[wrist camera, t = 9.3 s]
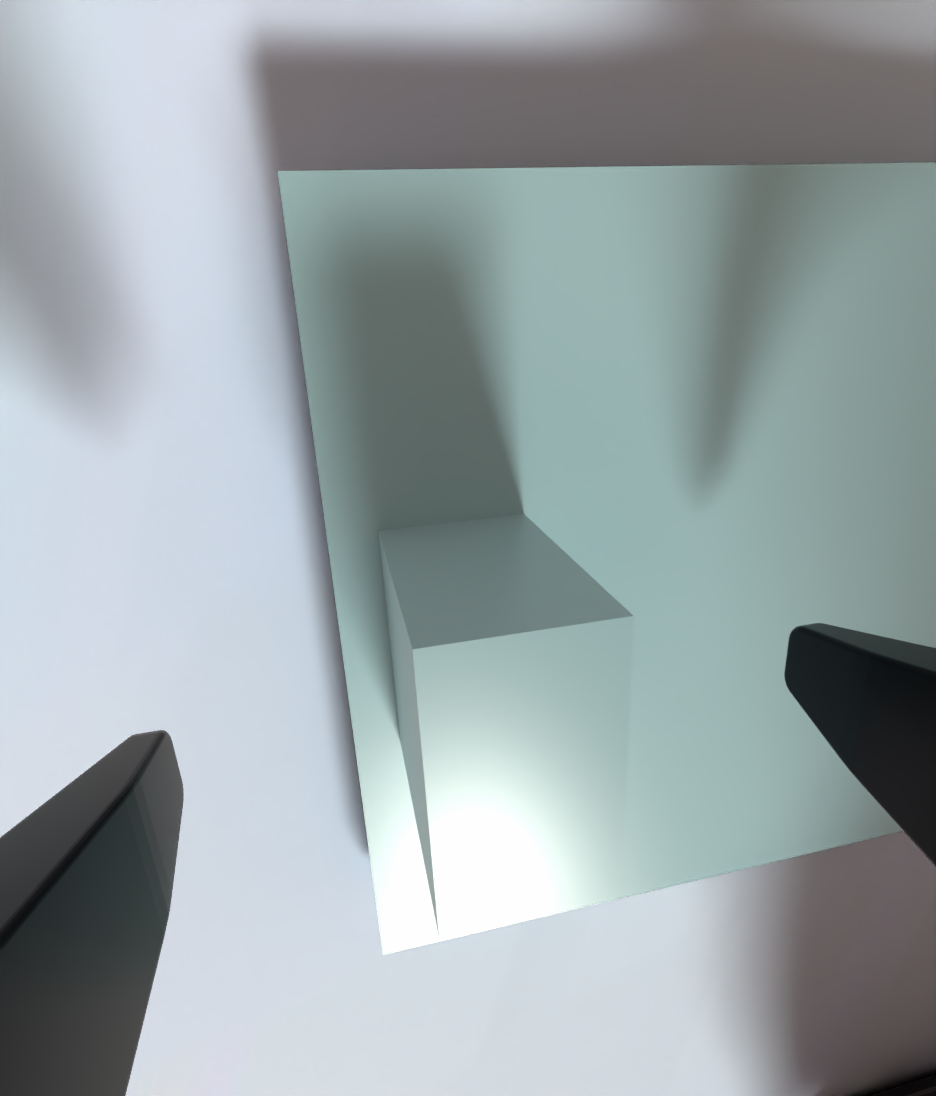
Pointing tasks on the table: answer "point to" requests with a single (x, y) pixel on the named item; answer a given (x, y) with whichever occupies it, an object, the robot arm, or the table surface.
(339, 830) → the table surface
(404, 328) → the lid
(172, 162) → the table surface
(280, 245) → the table surface
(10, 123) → the table surface
